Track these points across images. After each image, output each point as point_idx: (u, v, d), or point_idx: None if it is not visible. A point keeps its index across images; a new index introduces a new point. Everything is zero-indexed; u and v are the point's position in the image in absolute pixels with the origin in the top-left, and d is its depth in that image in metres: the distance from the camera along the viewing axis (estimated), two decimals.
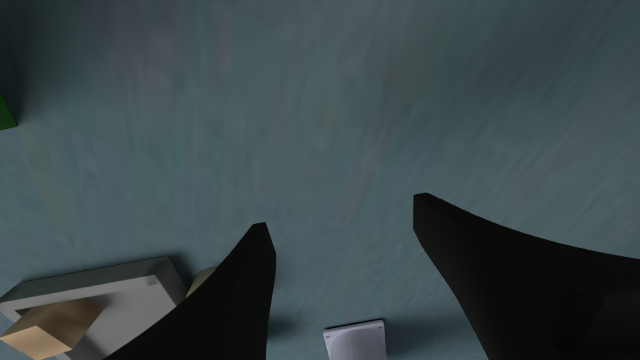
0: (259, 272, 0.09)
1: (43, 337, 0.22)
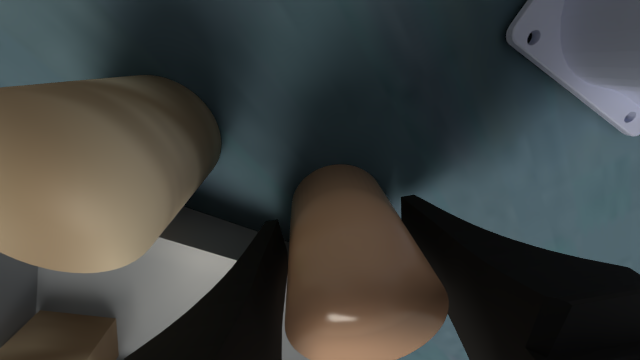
0: (274, 269, 0.09)
1: None
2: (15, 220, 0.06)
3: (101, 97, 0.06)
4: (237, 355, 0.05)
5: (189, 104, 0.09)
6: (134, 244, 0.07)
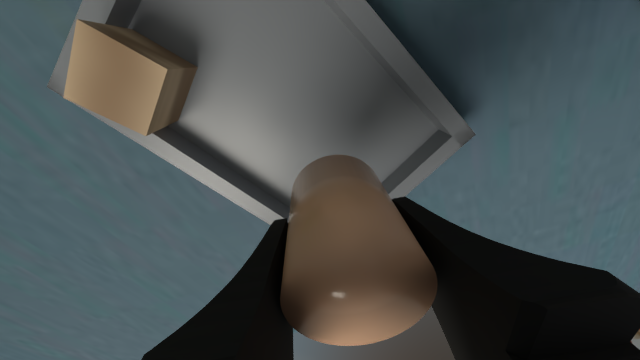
0: None
1: (109, 54, 0.12)
2: None
3: None
4: (255, 352, 0.05)
5: None
6: None
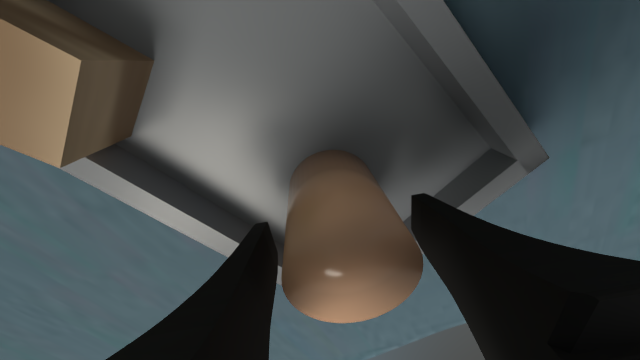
0: (262, 271, 0.09)
1: None
2: None
3: None
4: (216, 359, 0.05)
5: None
6: None
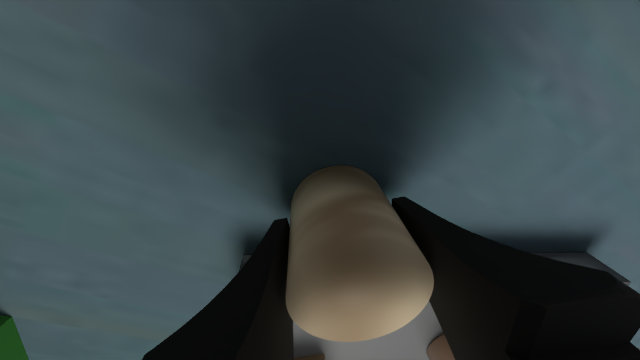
0: (284, 267, 0.09)
1: None
2: (338, 317, 0.08)
3: (364, 214, 0.08)
4: (256, 352, 0.05)
5: (368, 180, 0.11)
6: (413, 308, 0.09)
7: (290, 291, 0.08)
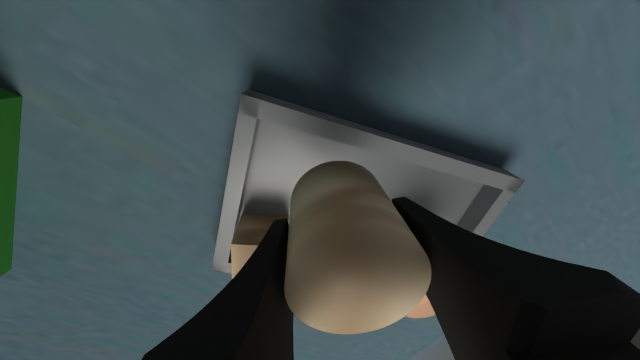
0: (284, 267, 0.09)
1: (251, 252, 0.18)
2: (335, 308, 0.08)
3: (364, 205, 0.08)
4: (256, 352, 0.05)
5: (368, 176, 0.11)
6: (411, 301, 0.09)
7: (289, 279, 0.08)
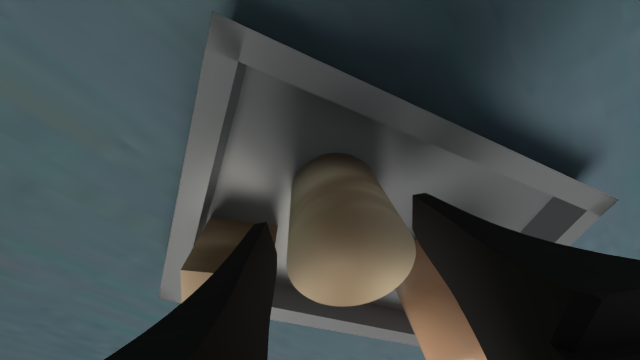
0: (261, 271, 0.09)
1: None
2: (331, 281, 0.10)
3: (356, 191, 0.09)
4: (214, 359, 0.05)
5: (362, 167, 0.12)
6: (398, 276, 0.10)
7: (290, 255, 0.09)
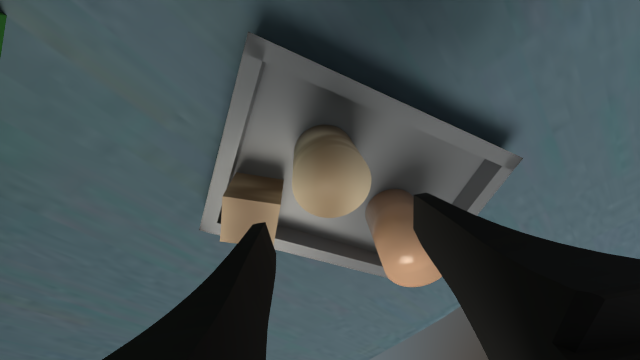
0: (259, 272, 0.09)
1: (243, 208, 0.17)
2: (320, 198, 0.15)
3: (335, 140, 0.15)
4: None
5: (342, 132, 0.18)
6: (361, 195, 0.16)
7: (294, 178, 0.15)
